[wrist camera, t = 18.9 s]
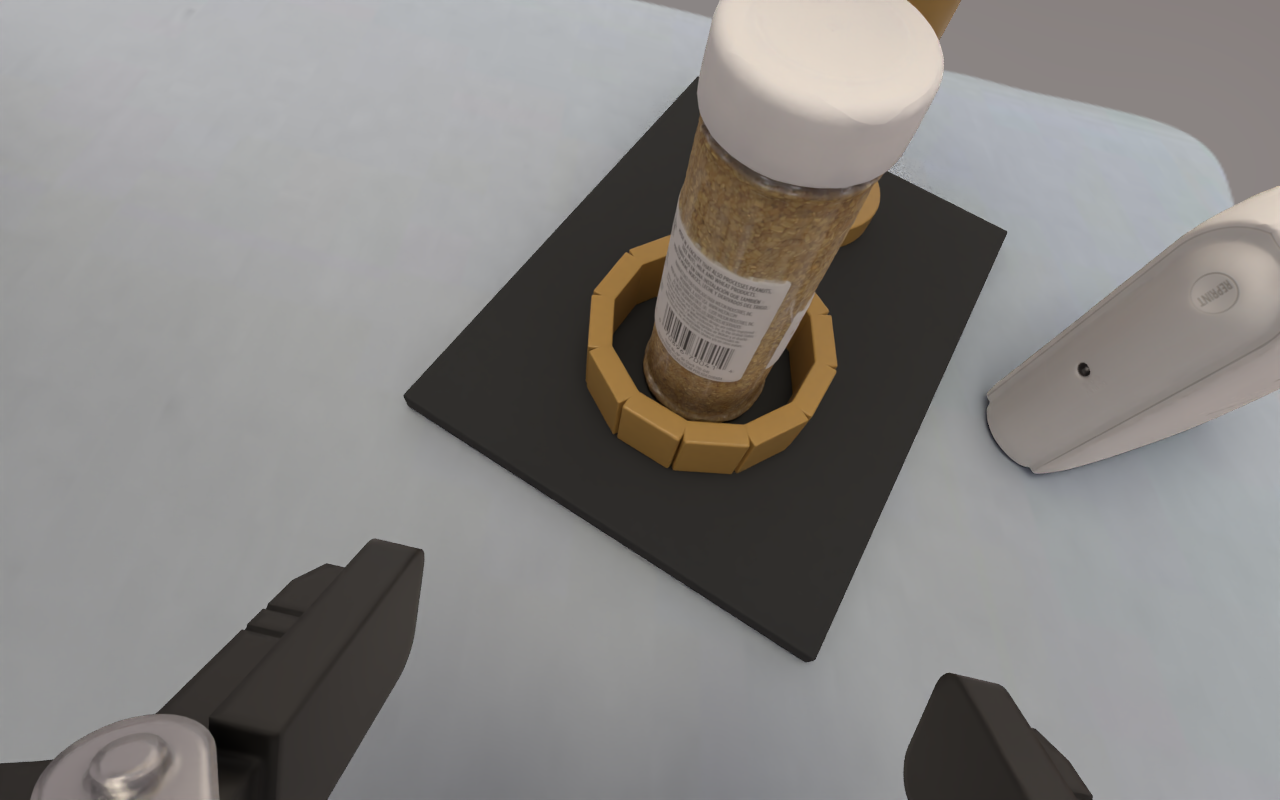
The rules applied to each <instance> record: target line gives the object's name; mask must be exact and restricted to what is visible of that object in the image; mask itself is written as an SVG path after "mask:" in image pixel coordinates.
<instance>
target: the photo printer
mask: <svg viewBox="0 0 1280 800" xmlns="http://www.w3.org/2000/svg"><path fill="white" fill-rule="evenodd" d="M1278 389H1280V186H1277V187H1275V188H1273V189H1270V190H1267V191H1264V192H1262V193H1259V194H1257V195H1255V196H1252V197H1250V198H1248V199H1247V200H1245V201H1243V202H1241V203H1239V204H1237V205H1235V206H1233V207H1231V208H1229V209H1227V210H1225V211H1223V212H1221V213H1219V214H1217V215H1215V216H1213V217H1212V218H1210V219H1208V220H1206V221H1205V222H1203V223H1201V224H1200V225H1198V226H1197V227H1195V228H1194V229H1192V230H1191V231H1189V232H1188V233H1186V234H1185V235H1183V236H1182V237H1180V238H1179V239H1178V240H1177V241H1175V242H1174V243H1173V244H1172V245H1170V246H1169V247H1168V248H1167V249H1165V250H1164V251H1163V252H1162V253H1160V254H1159V255H1158V256H1157V257H1155V258H1154V259H1153V260H1151V261H1150V262H1149V263H1148V264H1146V265H1145V266H1144V267H1143V268H1142V269H1140V270H1139V271H1138V272H1137V273H1135V274H1134V275H1133V276H1131V277H1130V278H1129V279H1128V280H1126V281H1125V282H1124V283H1122V284H1121V285H1120V286H1119V287H1118V288H1116V289H1115V290H1114V291H1113V292H1111V293H1110V294H1109V295H1108V296H1106V297H1105V298H1104V299H1103V300H1101V301H1100V302H1099V303H1098V304H1096V305H1095V306H1094V307H1093V308H1091V309H1090V310H1089V311H1088V312H1086V313H1085V314H1084V315H1083V316H1081V317H1080V318H1079V319H1078V320H1076V321H1075V322H1074V323H1073V324H1071V325H1070V326H1069V327H1068V328H1066V329H1065V330H1064V331H1063V332H1061V333H1060V334H1059V335H1057V336H1056V337H1055V338H1054V339H1052V340H1051V341H1050V342H1049V343H1047V344H1046V345H1045V346H1044V347H1042V348H1041V349H1040V350H1039V351H1037V352H1036V353H1035V354H1033V355H1032V356H1031V357H1030V358H1028V359H1027V360H1026V361H1025V362H1023V363H1022V364H1021V365H1019V366H1018V367H1017V368H1016V369H1014V370H1013V371H1012V372H1010V373H1009V374H1008V375H1007V376H1005V377H1004V378H1003V379H1001V380H1000V381H999V382H998V383H997V384H995V385H994V386H993V387H992V388H991V389H990V390H989V392H988V393H987V397H988V400H989V402H990V404H989V406H988V407H987V421H988V425H989V428H990V430H991V433H992V435H993V437H994V439H995V440H996V442H997V443H998V445H999V446H1000V447H1001V449H1002V450H1003V451H1004V452H1005V453H1006V454H1007V455H1008V456H1009V457H1010V458H1011V459H1012V460H1014V461H1015V462H1017V463H1018V464H1019V465H1022V466H1024V467H1030V469H1031V470H1032V472H1033V473H1035V474H1041V473H1051V472H1057V471H1062V470H1068V469H1071V468H1075V467H1079V466H1082V465H1086V464H1089V463H1093V462H1096V461H1099V460H1102V459H1106V458H1109V457H1112V456H1115V455H1118V454H1122V453H1124V452H1127V451H1130V450H1133V449H1136V448H1139V447H1142V446H1145V445H1148V444H1151V443H1153V442H1156V441H1159V440H1162V439H1164V438H1167V437H1170V436H1172V435H1175V434H1178V433H1180V432H1183V431H1186V430H1188V429H1191V428H1193V427H1195V426H1198V425H1200V424H1203V423H1205V422H1208V421H1210V420H1212V419H1215V418H1217V417H1219V416H1221V415H1224V414H1226V413H1228V412H1230V411H1233V410H1235V409H1237V408H1240V407H1242V406H1244V405H1246V404H1248V403H1251V402H1253V401H1255V400H1257V399H1259V398H1261V397H1263V396H1266V395H1268V394H1270V393H1272V392H1274V391H1276V390H1278Z"/></svg>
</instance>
